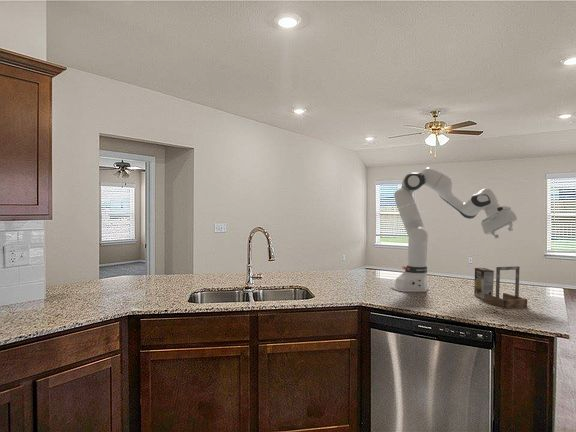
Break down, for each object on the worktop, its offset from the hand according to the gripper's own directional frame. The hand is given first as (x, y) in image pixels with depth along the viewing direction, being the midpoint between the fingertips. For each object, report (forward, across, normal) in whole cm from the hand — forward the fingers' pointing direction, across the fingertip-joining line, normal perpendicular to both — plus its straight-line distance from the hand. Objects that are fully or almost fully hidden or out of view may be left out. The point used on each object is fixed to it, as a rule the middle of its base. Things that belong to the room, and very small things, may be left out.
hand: (504, 234), depth 236 cm
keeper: (+39, -7, -16) cm, 42 cm away
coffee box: (+31, -20, -12) cm, 39 cm away
